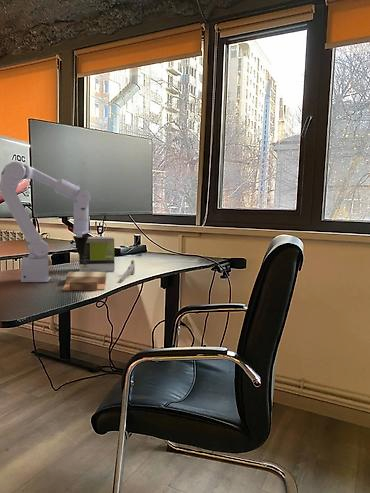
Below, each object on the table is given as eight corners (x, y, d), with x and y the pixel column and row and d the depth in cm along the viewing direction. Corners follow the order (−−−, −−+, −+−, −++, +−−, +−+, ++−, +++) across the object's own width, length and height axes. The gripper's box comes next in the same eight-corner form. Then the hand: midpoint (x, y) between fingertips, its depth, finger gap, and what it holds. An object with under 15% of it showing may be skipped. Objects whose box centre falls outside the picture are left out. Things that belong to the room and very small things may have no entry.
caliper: (132, 274, 169) (132, 259, 168) (134, 274, 169) (134, 259, 168) (118, 283, 149) (118, 267, 148) (121, 283, 148) (121, 267, 148)
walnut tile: (71, 278, 139) (71, 285, 139) (69, 282, 133) (69, 289, 133) (97, 278, 140) (97, 285, 140) (96, 282, 134) (96, 289, 134)
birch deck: (65, 284, 142) (65, 276, 142) (69, 279, 152) (69, 271, 152) (105, 284, 145) (105, 276, 144) (106, 279, 155) (106, 271, 154)
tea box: (113, 268, 181) (113, 236, 179) (114, 272, 171) (114, 238, 170) (79, 268, 177) (79, 235, 176) (78, 272, 168) (78, 237, 166)
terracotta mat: (62, 290, 134) (62, 289, 134) (65, 284, 142) (65, 283, 142) (104, 289, 136) (104, 288, 136) (105, 284, 144) (105, 283, 144)
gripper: (90, 220, 148) (90, 256, 149) (92, 219, 162) (92, 251, 164) (70, 220, 147) (70, 256, 148) (75, 218, 161) (75, 251, 162)
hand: (81, 254), depth 156 cm, fingers closed
